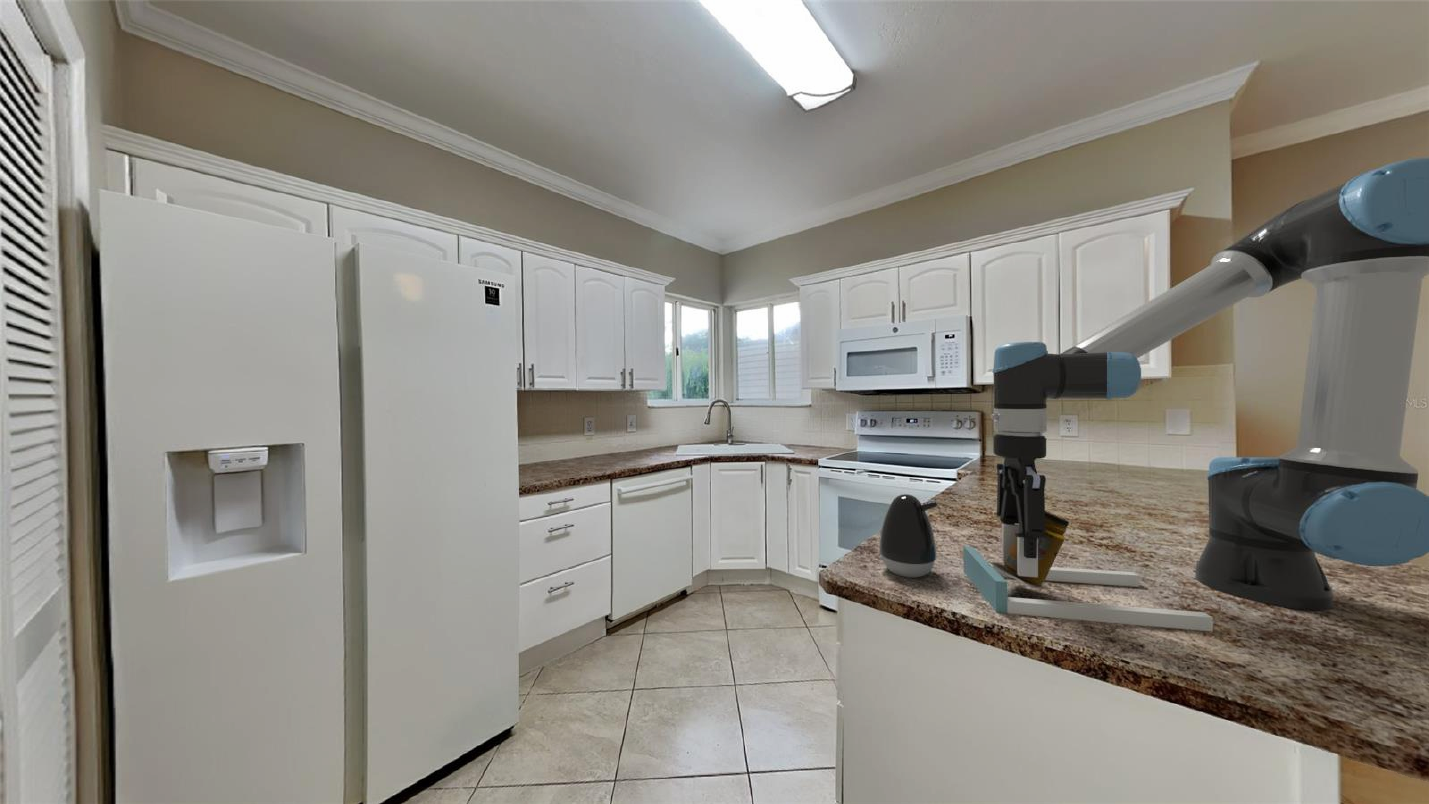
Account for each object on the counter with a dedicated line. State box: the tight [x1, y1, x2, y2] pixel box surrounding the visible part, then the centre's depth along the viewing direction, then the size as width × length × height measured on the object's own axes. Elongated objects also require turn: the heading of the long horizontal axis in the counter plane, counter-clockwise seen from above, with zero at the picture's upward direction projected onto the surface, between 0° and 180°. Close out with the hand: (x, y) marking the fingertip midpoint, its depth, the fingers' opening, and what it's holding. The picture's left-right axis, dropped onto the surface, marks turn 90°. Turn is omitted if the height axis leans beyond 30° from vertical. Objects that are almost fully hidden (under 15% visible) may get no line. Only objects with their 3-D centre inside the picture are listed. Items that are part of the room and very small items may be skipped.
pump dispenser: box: [878, 493, 938, 579], centre depth 88 cm, size 10×10×15 cm
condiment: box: [986, 510, 1070, 590], centre depth 77 cm, size 7×8×12 cm
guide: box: [962, 545, 1214, 633], centre depth 76 cm, size 28×17×5 cm, turn 76°
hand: (1018, 568), depth 78 cm, fingers closed on condiment, 6 cm apart
